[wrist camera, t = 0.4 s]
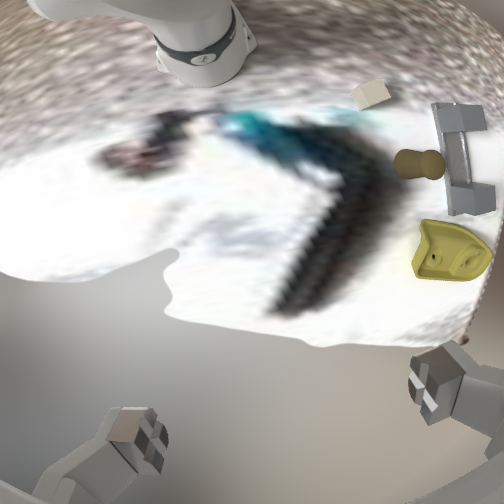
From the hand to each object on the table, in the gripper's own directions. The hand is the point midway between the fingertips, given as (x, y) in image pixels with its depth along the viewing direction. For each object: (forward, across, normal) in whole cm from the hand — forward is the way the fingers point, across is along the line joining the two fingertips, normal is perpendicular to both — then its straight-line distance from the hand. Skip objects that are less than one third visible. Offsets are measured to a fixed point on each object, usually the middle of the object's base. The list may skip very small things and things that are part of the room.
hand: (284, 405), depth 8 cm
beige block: (+46, -25, -17) cm, 55 cm away
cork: (+46, -31, -3) cm, 56 cm away
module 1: (+44, -44, -11) cm, 63 cm away
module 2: (+45, -44, +5) cm, 63 cm away
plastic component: (+46, -39, +18) cm, 63 cm away
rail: (+46, -44, -3) cm, 64 cm away
